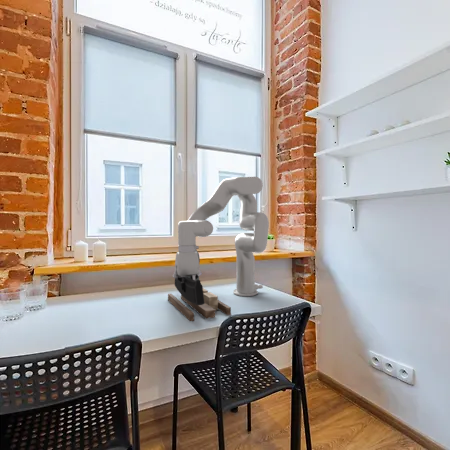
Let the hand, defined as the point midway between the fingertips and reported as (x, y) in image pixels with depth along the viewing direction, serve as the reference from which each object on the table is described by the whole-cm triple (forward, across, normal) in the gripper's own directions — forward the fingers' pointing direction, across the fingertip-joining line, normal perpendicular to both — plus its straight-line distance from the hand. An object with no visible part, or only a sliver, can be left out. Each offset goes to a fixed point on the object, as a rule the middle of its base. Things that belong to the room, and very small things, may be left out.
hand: (187, 290), depth 131 cm
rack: (+8, -4, 0) cm, 9 cm away
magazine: (+4, 0, 0) cm, 4 cm away
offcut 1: (+8, -9, -7) cm, 14 cm away
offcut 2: (+8, -9, +4) cm, 12 cm away
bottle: (+8, -11, -28) cm, 31 cm away
